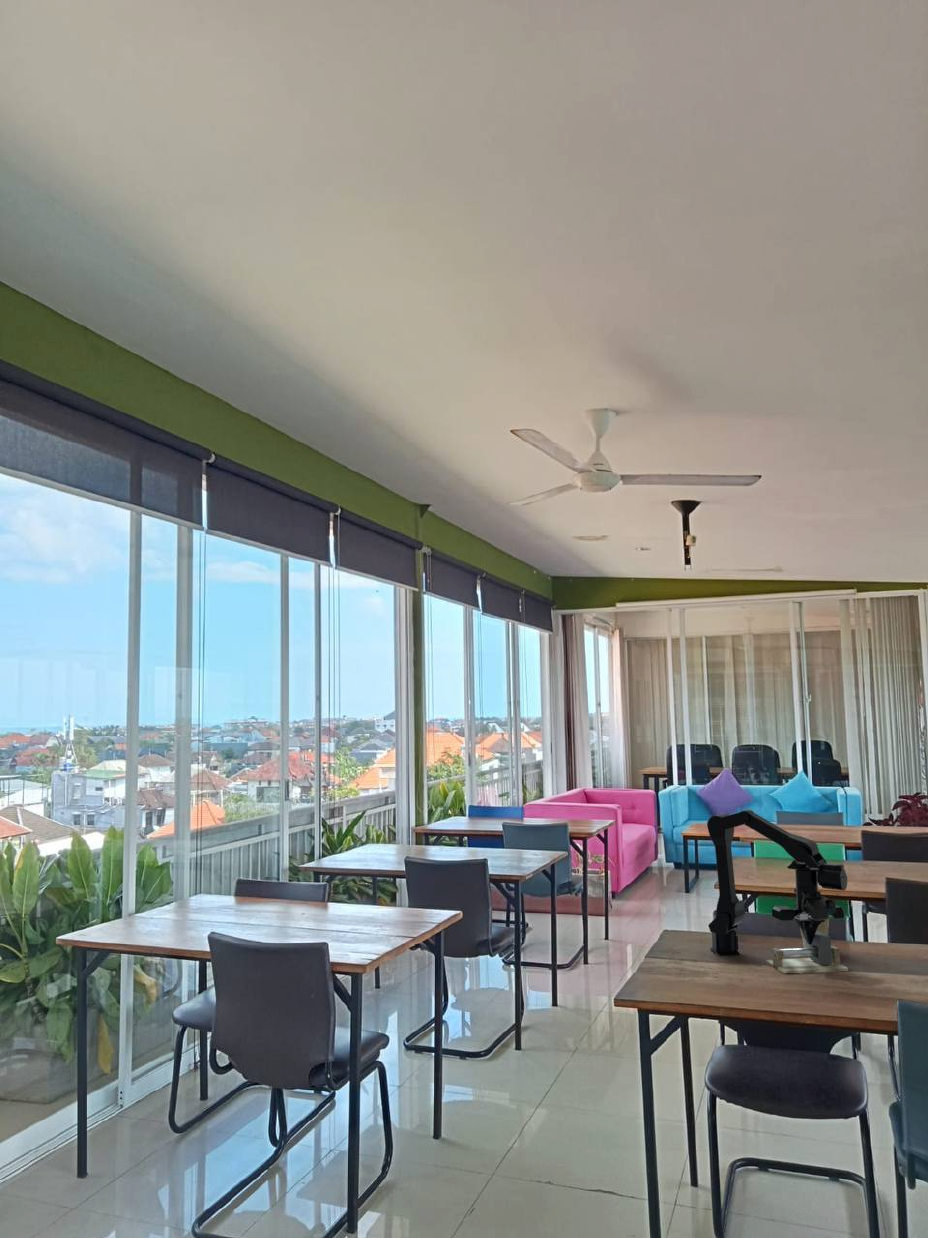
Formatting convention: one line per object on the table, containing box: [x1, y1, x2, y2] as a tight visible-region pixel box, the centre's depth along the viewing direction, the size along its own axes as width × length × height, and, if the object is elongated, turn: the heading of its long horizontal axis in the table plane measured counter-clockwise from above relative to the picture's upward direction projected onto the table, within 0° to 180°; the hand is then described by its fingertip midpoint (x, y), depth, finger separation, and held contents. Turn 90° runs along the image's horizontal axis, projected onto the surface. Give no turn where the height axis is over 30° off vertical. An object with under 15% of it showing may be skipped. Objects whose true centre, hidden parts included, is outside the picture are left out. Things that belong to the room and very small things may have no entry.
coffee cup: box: [795, 895, 830, 948], centre depth 270 cm, size 10×10×15 cm
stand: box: [766, 945, 849, 974], centre depth 253 cm, size 18×11×5 cm, turn 97°
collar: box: [809, 931, 832, 965], centre depth 253 cm, size 3×6×7 cm, turn 7°
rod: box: [772, 947, 834, 958], centre depth 253 cm, size 18×2×2 cm, turn 97°
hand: (809, 944), depth 253 cm, fingers closed
